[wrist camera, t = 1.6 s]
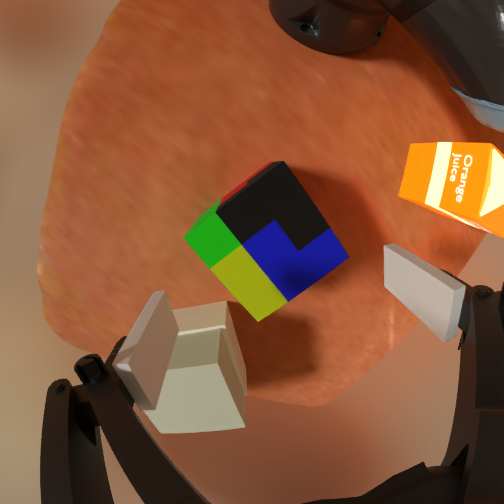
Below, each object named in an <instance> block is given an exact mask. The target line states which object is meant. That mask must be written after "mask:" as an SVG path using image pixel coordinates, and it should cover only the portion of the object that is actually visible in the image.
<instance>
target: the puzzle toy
mask: <svg viewBox="0 0 504 504" xmlns="http://www.w3.org/2000/svg"><path fill="white" fill-rule="evenodd" d="M184 239H185V240H186V241H187V243H188V244H189V245H190V246H191V247H192V248H193V250H194V251H195V252H196V253H197V254H198V255H199V257H200V258H201V259H202V260H203V261H204V262H205V264H206V265H207V266H208V267H209V268H210V269H211V270H212V272H213V273H214V274H215V275H216V276H217V277H218V278H219V280H220V281H221V282H222V283H223V284H224V285H225V286H226V287H227V289H228V290H229V291H230V292H231V293H232V294H233V295H234V296H235V297H236V299H237V300H238V301H239V302H240V303H241V304H242V305H243V306H244V307H245V308H246V310H247V311H248V312H249V313H250V314H251V315H252V316H253V317H254V318H255V319H256V320H257V322H259V321H260V320H262V319H263V318H265V317H266V316H268V315H269V314H271V313H272V312H274V311H275V310H277V309H278V308H280V307H281V306H283V305H284V304H286V303H287V302H289V301H290V300H291V299H293V298H294V297H296V296H297V295H299V294H300V293H301V292H303V291H304V290H306V289H307V288H308V287H310V286H311V285H313V284H314V283H315V282H317V281H318V280H320V279H321V278H322V277H324V276H325V275H326V274H328V273H329V272H330V271H332V270H333V269H334V268H336V267H337V266H339V265H340V264H341V263H342V262H344V261H345V260H346V259H348V258H349V256H348V255H347V253H346V251H345V250H344V248H343V247H342V245H341V243H340V242H339V240H338V239H337V237H336V236H335V234H334V233H333V231H332V229H331V228H330V226H329V225H328V223H327V222H326V220H325V219H324V217H323V216H322V214H321V213H320V211H319V210H318V208H317V207H316V205H315V204H314V203H313V201H312V200H311V198H310V197H309V195H308V194H307V192H306V191H305V190H304V188H303V187H302V185H301V184H300V183H299V181H298V180H297V178H296V177H295V176H294V174H293V173H292V172H291V170H290V169H289V167H288V166H287V165H286V163H285V162H284V161H279V162H271V163H268V164H267V165H265V166H264V167H263V168H261V169H260V170H259V171H257V172H256V173H255V174H253V175H252V176H251V177H249V178H248V179H247V180H245V181H244V182H243V183H241V184H240V185H239V186H237V187H236V188H235V189H234V190H232V191H231V192H230V193H228V194H227V195H226V196H225V197H223V198H222V199H221V200H219V201H218V202H217V203H216V204H214V205H213V206H212V207H211V208H209V209H208V210H207V211H206V212H204V213H203V214H202V215H201V216H200V217H199V218H198V219H197V221H196V222H195V223H194V225H193V226H192V228H191V229H190V230H189V232H188V233H187V234H186V236H185V237H184Z"/></svg>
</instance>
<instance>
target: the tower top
mask: <svg viewBox="0 0 504 504" xmlns="http://www.w3.org/2000/svg"><path fill="white" fill-rule="evenodd" d="M143 411H144V412H145V413H146V415H147V416H148V417H149V418H150V420H151V421H152V422H153V424H154V425H155V426H156V428H157V429H158V430H159V431H160V433H190V432H206V431H218V430H227V429H236V428H243V427H246V422H245V400H244V391H243V388H242V385H241V383H240V380H239V377H238V375H237V372H236V369H235V367H234V364H233V361H232V359H231V356H230V353H229V350H228V347H227V345H226V342H225V339H224V336H223V333H222V330H221V328H218V329H212V330H207V331H201V332H195V333H190V334H184V335H177V338H176V342H175V345H174V348H173V351H172V355H171V358H170V361H169V365H168V368H167V371H166V375H165V378H164V382H163V385H162V389H161V392H160V396H159V399H158V403H157V407H156V410H143Z"/></svg>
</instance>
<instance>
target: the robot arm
mask: <svg viewBox="0 0 504 504" xmlns="http://www.w3.org/2000/svg"><path fill="white" fill-rule="evenodd" d="M269 8H270V11H271V14H272V16H273V18H274V19H275V21H276V22H277V24H278V25H279V26H280V27H281V28H282V29H283V30H284V31H285V32H286V33H287V34H288V35H290V36H291V37H292V38H294V39H295V40H297V41H298V42H300V43H302V44H304V45H306V46H308V47H310V48H312V49H315V50H318V51H321V52H325V53H329V54H335V55H352V54H357V53H360V52H363V51H365V50H367V49H368V48H370V47H371V46H372V45H373V44H375V43H376V42H377V41H378V40H379V39H380V38H381V36H382V34H383V32H384V30H385V25H386V24H387V21H388V18H389V15H390V14H391V15H392V16H393V17H394V18H396V19H397V20H398V21H399V22H400V24H401V25H402V26H403V27H404V28H405V29H406V30H407V31H408V32H409V33H410V34H411V35H412V36H413V37H414V38H415V39H416V40H417V41H418V42H419V44H420V45H421V46H422V47H423V48H424V49H425V51H426V52H427V53H428V54H429V55H430V57H431V58H432V59H433V60H434V62H435V63H436V64H437V66H438V67H439V68H440V70H441V71H442V72H443V74H444V75H445V76H446V78H447V79H448V81H449V82H450V86H451V88H452V89H453V91H454V92H455V93H457V94H458V95H459V96H460V98H461V99H462V101H463V102H464V103H465V105H466V106H467V108H468V109H469V111H470V113H471V114H472V115H473V116H474V118H475V119H476V120H478V121H479V122H480V123H481V124H483V125H484V126H486V127H488V128H491V129H495V130H496V131H499V132H503V133H504V0H269ZM384 287H386V288H387V289H388V290H389V291H390V292H391V293H392V294H393V295H394V296H395V297H397V298H398V299H399V300H400V301H401V302H402V303H403V304H404V305H405V306H406V307H407V308H408V309H410V310H411V311H412V312H413V313H414V314H415V315H416V316H417V317H418V318H419V319H420V320H421V321H422V322H423V323H424V324H425V325H426V326H427V327H428V328H429V329H431V330H432V331H433V332H434V333H435V334H436V335H437V336H438V337H439V338H440V339H441V340H442V341H443V342H444V343H446V342H448V341H450V340H452V339H454V338H455V337H456V333H457V329H458V327H459V328H460V329H461V330H462V335H461V339H460V343H459V347H458V350H460V347H461V355H460V373H459V383H458V393H457V400H456V408H455V414H454V420H453V425H452V431H451V435H450V440H449V444H448V448H447V452H446V455H445V458H444V459H443V462H442V464H441V466H433V467H428V468H427V467H426V466H425V464H424V462H421V463H420V464H417V465H415V466H413V467H411V468H409V469H407V470H405V471H403V472H401V473H398V474H396V475H394V476H392V477H391V478H389V479H388V480H386V481H385V482H383V483H382V484H380V485H378V486H377V487H375V488H374V489H372V490H371V491H369V492H367V493H366V494H364V495H362V496H359V497H351V498H341V499H324V500H317V501H312V502H307V503H303V504H504V282H503V286H502V291H497V292H494V291H493V290H492V289H491V288H490V287H487V286H484V285H477V286H474V287H471V286H470V285H468V284H467V283H465V282H463V281H462V280H460V279H458V278H457V277H455V276H453V275H452V274H451V273H449V272H447V271H445V270H441V269H438V268H436V267H435V266H433V265H431V264H430V263H428V262H426V261H425V260H423V259H421V258H420V257H418V256H416V255H414V254H413V253H411V252H409V251H407V250H406V249H404V248H402V247H400V246H398V245H397V244H395V243H392V244H387V245H384ZM178 332H179V327H178V325H177V322H176V319H175V316H174V314H173V311H172V308H171V305H170V302H169V299H168V297H167V294H166V291H165V290H162V291H157V292H153V294H152V295H151V297H150V299H149V300H148V302H147V304H146V305H145V307H144V309H143V310H142V312H141V314H140V315H139V317H138V319H137V320H136V322H135V324H134V326H133V327H132V329H131V331H130V332H129V334H128V336H123V337H122V338H121V339H120V340H119V341H118V342H117V343H116V345H115V347H114V348H113V349H114V350H112V352H111V353H110V354H111V355H109V357H108V359H107V360H106V362H105V364H104V363H103V361H102V359H101V357H100V356H99V355H98V354H89V355H87V356H84V357H82V358H81V359H79V360H78V361H77V362H76V364H75V366H74V370H75V372H76V373H77V375H78V377H79V378H80V380H81V381H82V383H83V384H82V385H77V386H72V385H71V383H70V382H69V381H68V380H67V379H59V380H57V381H54V382H53V383H52V384H51V385H50V387H49V388H48V391H47V396H46V403H45V410H44V417H43V427H42V439H41V456H40V487H41V503H42V504H114V501H113V498H112V494H111V490H110V485H109V481H108V477H107V472H106V467H105V461H104V456H103V449H102V443H101V435H100V427H99V426H101V428H102V430H103V433H104V435H105V437H106V439H107V441H108V443H109V445H110V447H111V449H112V451H113V452H114V455H115V456H116V458H117V460H118V462H119V464H120V465H121V467H122V469H123V471H124V472H125V474H126V476H127V477H128V479H129V481H130V482H131V484H132V485H133V487H134V488H135V490H136V492H137V493H138V495H139V496H140V497H141V499H142V501H143V502H144V503H145V504H211V503H210V502H209V501H208V500H207V499H206V498H205V497H204V496H203V495H202V494H201V493H200V492H199V491H198V490H197V489H196V488H195V487H194V486H193V485H192V484H191V483H190V482H189V481H188V480H187V479H186V477H185V476H184V475H183V474H182V473H181V472H180V471H179V470H178V468H177V467H176V466H175V465H174V464H173V462H172V461H171V460H170V459H169V458H168V456H167V455H166V454H165V453H164V452H163V450H162V449H161V448H160V446H159V445H158V444H157V442H156V441H155V440H154V439H153V437H152V436H151V434H150V433H149V432H148V430H147V429H146V428H145V426H144V425H143V423H142V422H141V420H140V419H139V418H138V416H137V415H136V413H135V412H134V410H133V409H132V408H133V404H134V402H135V403H136V404H137V406H138V408H139V409H140V410H156V407H157V403H158V399H159V396H160V392H161V389H162V385H163V382H164V378H165V375H166V371H167V368H168V365H169V361H170V358H171V355H172V351H173V348H174V345H175V342H176V338H177V335H178Z"/></svg>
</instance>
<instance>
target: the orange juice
mask: <svg viewBox="0 0 504 504" xmlns="http://www.w3.org/2000/svg"><path fill="white" fill-rule="evenodd" d="M399 197H402V198H404V199H407V200H409V201H411V202H414V203H416V204H418V205H421V206H423V207H425V208H427V209H430V210H432V211H434V212H436V213H438V214H441V215H443V216H446V217H449V218H452V219H455V220H458V221H461V222H463V223H466V224H468V225H471V226H473V227H476V228H479V229H482V230H485V231H487V232H490V233H491V234H495V235H497V236H500V237H502V238H504V155H503V154H502V153H501V152H500V151H499V150H498V149H497V148H496V147H495V146H494V145H493V144H492V143H452V142H438V143H417V144H410V149H409V154H408V159H407V163H406V168H405V172H404V176H403V180H402V184H401V188H400V192H399Z"/></svg>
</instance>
